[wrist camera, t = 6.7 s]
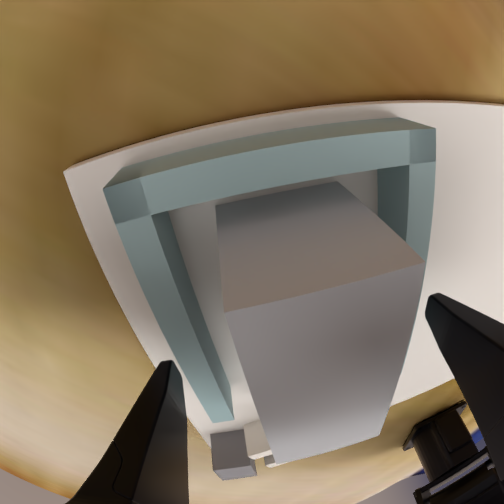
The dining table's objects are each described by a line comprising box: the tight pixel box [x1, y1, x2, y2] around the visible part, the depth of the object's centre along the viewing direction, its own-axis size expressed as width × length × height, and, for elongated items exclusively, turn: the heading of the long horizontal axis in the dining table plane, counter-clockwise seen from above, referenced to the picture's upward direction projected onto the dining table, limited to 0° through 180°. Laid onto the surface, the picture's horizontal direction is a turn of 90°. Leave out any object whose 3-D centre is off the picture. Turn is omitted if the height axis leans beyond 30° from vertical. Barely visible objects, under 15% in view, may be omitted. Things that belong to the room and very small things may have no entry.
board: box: [63, 100, 504, 448], centre depth 14 cm, size 19×24×1 cm
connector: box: [215, 181, 425, 464], centre depth 10 cm, size 4×11×5 cm, turn 10°
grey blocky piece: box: [210, 429, 257, 480], centre depth 16 cm, size 5×6×3 cm
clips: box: [243, 420, 291, 468], centre depth 16 cm, size 5×5×2 cm
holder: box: [103, 117, 436, 423], centre depth 11 cm, size 9×11×2 cm
